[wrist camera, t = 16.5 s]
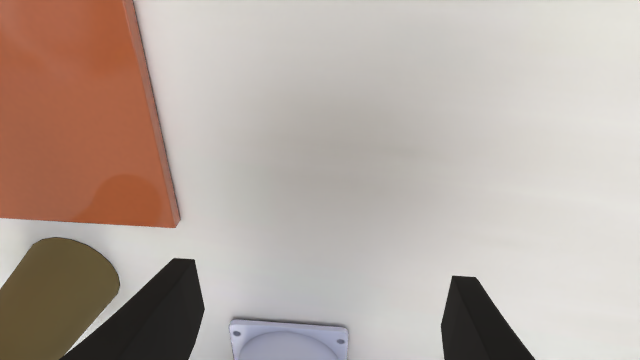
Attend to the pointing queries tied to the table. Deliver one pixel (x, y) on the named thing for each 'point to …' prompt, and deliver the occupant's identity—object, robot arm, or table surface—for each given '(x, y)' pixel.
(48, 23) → the tile
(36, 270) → the cork
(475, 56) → the table surface
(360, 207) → the table surface
